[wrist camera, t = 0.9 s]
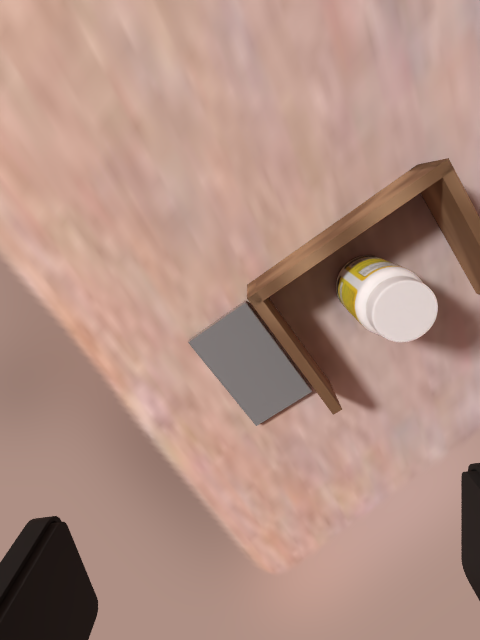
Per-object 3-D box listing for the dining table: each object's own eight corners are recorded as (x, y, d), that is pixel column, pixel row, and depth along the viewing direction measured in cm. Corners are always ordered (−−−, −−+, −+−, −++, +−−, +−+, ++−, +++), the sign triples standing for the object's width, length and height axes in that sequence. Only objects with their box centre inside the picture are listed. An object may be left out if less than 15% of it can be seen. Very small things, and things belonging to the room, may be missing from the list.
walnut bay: (417, 164, 28) (448, 158, 24) (485, 287, 31) (523, 301, 27) (247, 284, 31) (247, 298, 27) (322, 387, 34) (333, 414, 30)
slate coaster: (245, 300, 32) (245, 302, 31) (310, 388, 34) (311, 391, 33) (189, 340, 33) (188, 342, 32) (256, 422, 35) (256, 425, 35)
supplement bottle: (370, 321, 32) (411, 362, 24) (323, 294, 31) (349, 326, 23) (405, 272, 31) (461, 298, 23) (357, 243, 30) (397, 259, 22)
